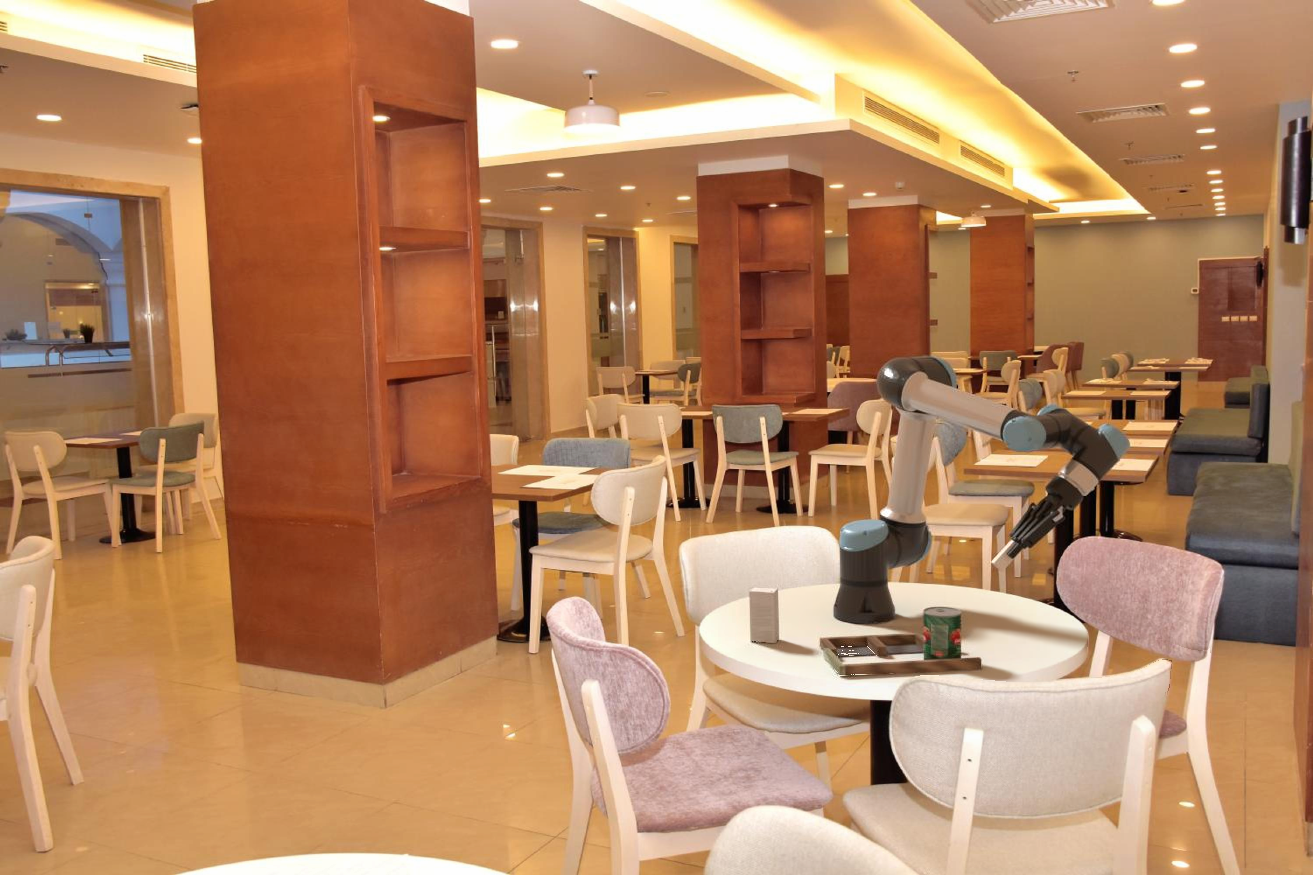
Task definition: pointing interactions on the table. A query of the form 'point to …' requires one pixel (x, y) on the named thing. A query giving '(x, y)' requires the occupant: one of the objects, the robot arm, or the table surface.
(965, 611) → the table surface
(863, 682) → the table surface
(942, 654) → the canned tomato
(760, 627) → the skincare box
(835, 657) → the wooden rail frame
